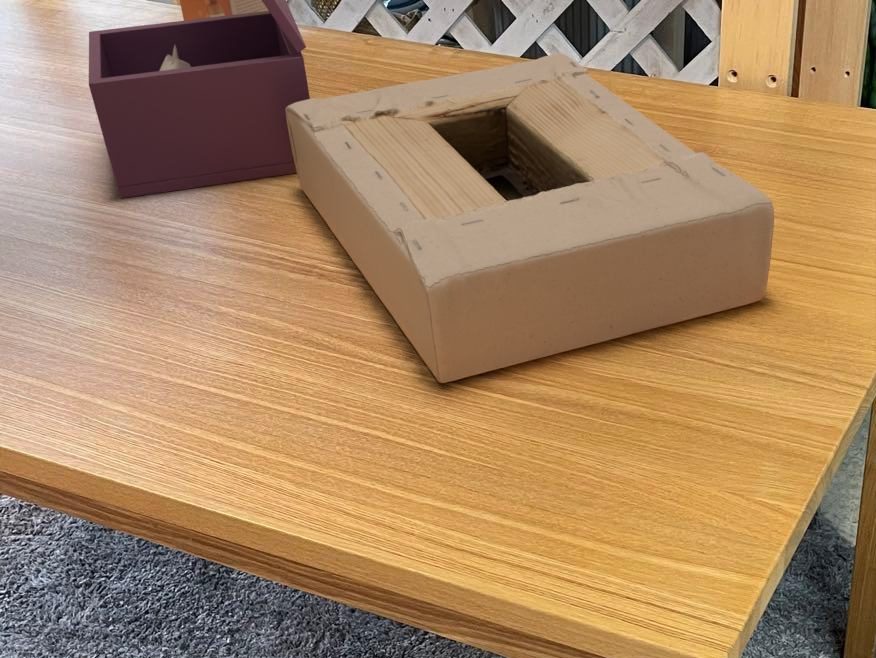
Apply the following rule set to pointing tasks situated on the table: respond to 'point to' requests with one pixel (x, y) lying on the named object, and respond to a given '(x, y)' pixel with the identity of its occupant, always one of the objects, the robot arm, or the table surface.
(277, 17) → the lid
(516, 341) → the box
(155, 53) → the box
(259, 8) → the small box
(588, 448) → the table surface
